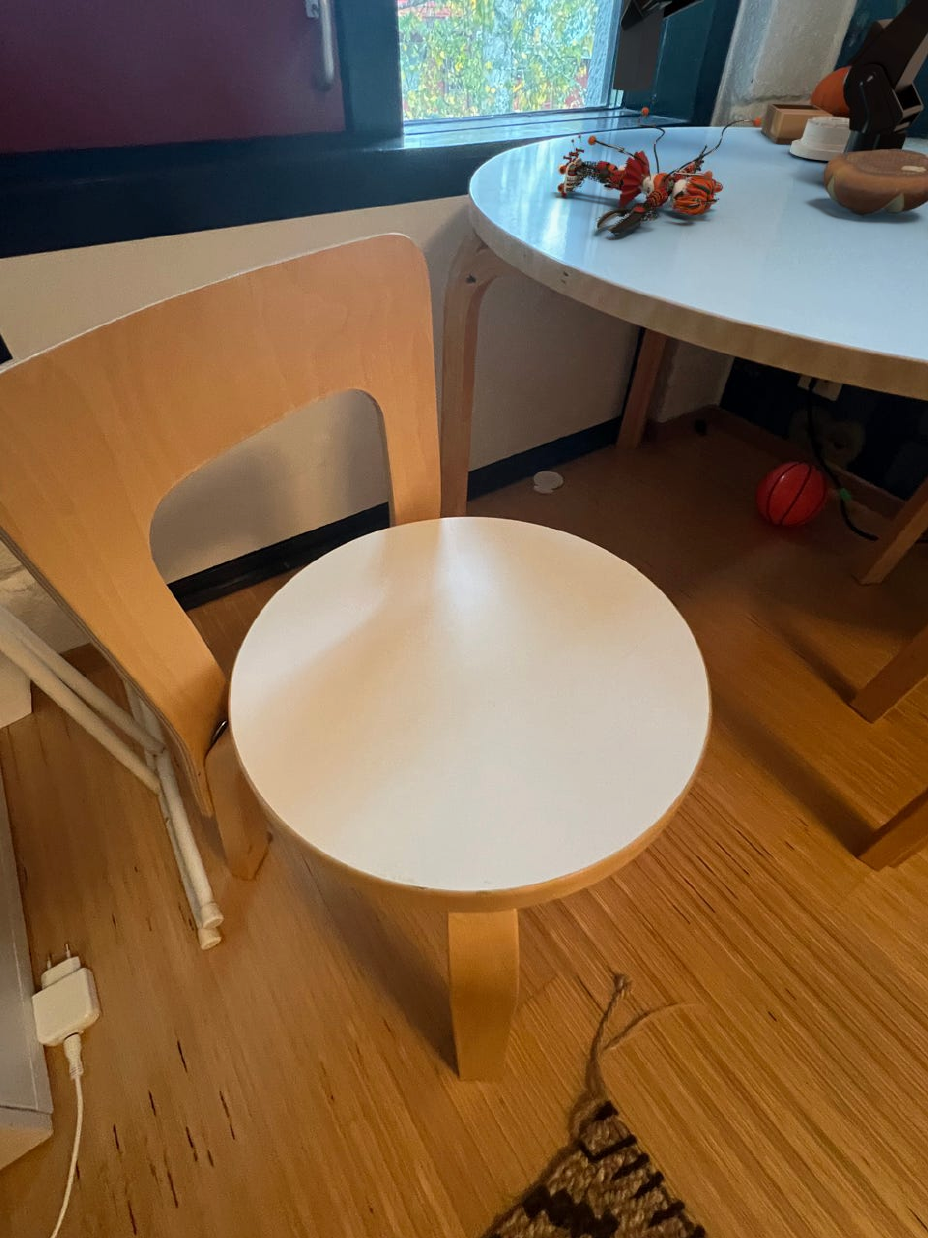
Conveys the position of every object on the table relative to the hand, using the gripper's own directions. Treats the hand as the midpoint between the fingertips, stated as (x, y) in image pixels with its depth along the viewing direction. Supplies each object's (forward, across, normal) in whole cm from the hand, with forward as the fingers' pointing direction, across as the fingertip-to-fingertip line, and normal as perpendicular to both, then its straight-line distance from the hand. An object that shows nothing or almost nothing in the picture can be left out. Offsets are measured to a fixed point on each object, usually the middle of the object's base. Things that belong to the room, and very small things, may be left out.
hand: (632, 26), depth 92 cm
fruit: (-1, -47, +21) cm, 51 cm away
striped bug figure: (0, +30, +13) cm, 33 cm away
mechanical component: (-8, -17, +28) cm, 33 cm away
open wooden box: (-1, -28, +21) cm, 35 cm away
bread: (-22, +11, +34) cm, 42 cm away
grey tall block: (+4, 0, +6) cm, 7 cm away
